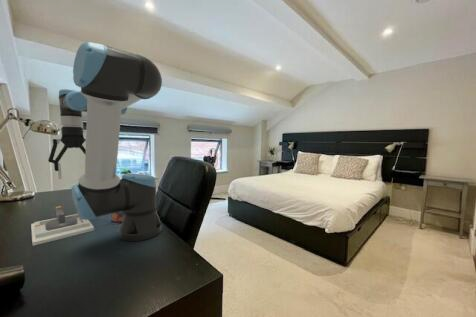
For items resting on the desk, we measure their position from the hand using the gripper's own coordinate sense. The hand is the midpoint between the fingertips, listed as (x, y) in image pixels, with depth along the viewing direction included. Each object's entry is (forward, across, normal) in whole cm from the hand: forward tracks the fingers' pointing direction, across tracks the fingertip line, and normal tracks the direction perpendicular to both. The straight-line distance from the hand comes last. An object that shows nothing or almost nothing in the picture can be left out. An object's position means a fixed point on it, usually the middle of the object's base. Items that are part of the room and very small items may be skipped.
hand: (75, 176), depth 96 cm
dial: (+18, +7, +5) cm, 20 cm away
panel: (+20, +6, +8) cm, 22 cm away
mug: (+20, -16, +14) cm, 29 cm away
